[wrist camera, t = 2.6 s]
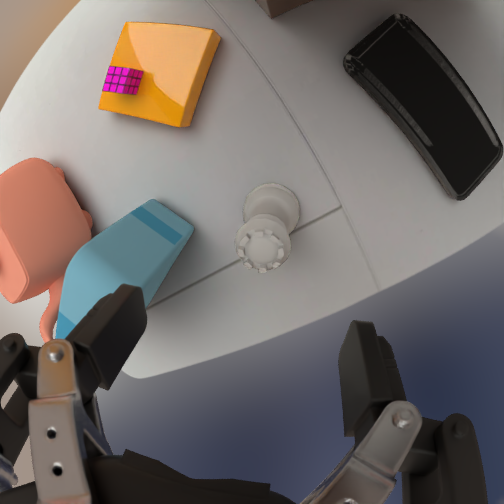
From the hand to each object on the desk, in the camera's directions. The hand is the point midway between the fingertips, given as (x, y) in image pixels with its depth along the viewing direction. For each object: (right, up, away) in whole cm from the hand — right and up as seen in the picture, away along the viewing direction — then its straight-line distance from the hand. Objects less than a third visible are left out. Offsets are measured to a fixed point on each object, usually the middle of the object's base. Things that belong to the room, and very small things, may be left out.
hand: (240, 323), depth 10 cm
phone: (+15, +14, +6) cm, 21 cm away
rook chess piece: (+2, +6, +13) cm, 14 cm away
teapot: (-21, +6, +16) cm, 27 cm away
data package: (-9, +2, +16) cm, 19 cm away
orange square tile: (-7, +17, +8) cm, 20 cm away
